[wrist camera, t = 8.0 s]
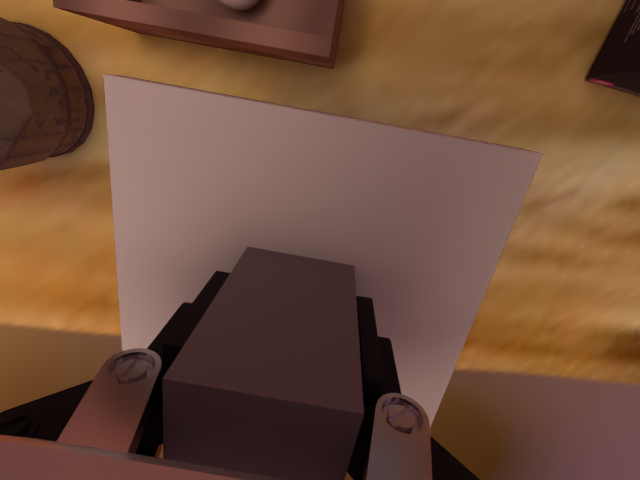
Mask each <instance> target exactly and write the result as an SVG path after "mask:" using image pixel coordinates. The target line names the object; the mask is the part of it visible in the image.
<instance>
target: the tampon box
mask: <svg viewBox="0 0 640 480" xmlns="http://www.w3.org/2000/svg"><path fill="white" fill-rule="evenodd" d="M587 80H588V81H590V82H594V83H598V84H602V85H605V86H609V87H612V88H615V89H618V90H622V91H625V92H628V93H632V94H635V95H638V96H640V0H628V1H627V3H626V4H625V6H624V8H623V10H622V12H621V14H620V16H619V18H618V20H617V22H616V24H615V26H614V28H613V30H612V32H611V34H610V35H609V37H608V39H607V41H606V43H605V45H604V47H603V49H602V51H601V53H600V55H599V57H598V59H597V61H596V62H595V64H594V66H593V68H592V70H591V72H590V74H589V76H588V78H587Z"/></svg>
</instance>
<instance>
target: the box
mask: <svg viewBox="0 0 640 480" xmlns="http://www.w3.org/2000/svg"><path fill="white" fill-rule="evenodd" d="M53 6H54V7H55V8H59V9H62V10H65V11H68V12H72V13H75V14H78V15H81V16H85V17H88V18H91V19H94V20H98V21H101V22H104V23H107V24H111V25H114V26H117V27H120V28H124V29H127V30H130V31H133V32H137V33H142V34H147V35H153V36H158V37H164V38H169V39H175V40H180V41H185V42H191V43H196V44H202V45H207V46H213V47H218V48H224V49H229V50H235V51H240V52H246V53H251V54H256V55H262V56H267V57H273V58H278V59H284V60H289V61H295V62H300V63H306V64H311V65H317V66H322V67H327V68H333V67H334V61H335V55H336V49H337V43H338V37H339V31H340V25H341V19H342V13H343V6H344V0H259V1H258V2H257V3H256V4H255V5H254V6H253V7H251V8H249V9H247V10H233V9H230V8H228V7H226V6H224V5H223V4H222V3H220V2H219V1H218V0H53Z"/></svg>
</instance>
